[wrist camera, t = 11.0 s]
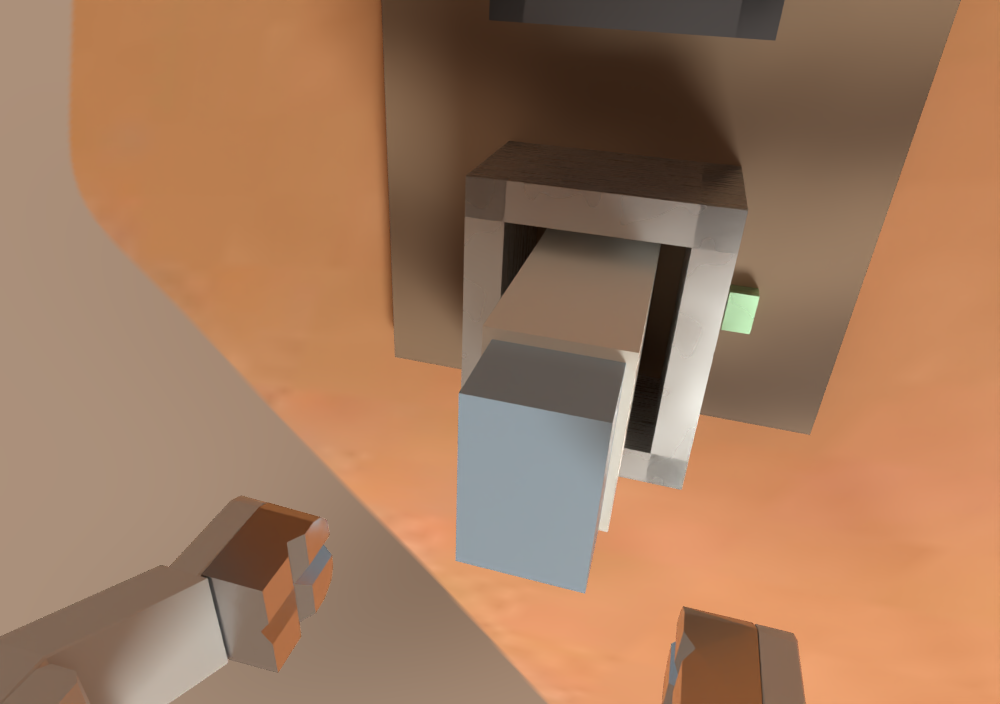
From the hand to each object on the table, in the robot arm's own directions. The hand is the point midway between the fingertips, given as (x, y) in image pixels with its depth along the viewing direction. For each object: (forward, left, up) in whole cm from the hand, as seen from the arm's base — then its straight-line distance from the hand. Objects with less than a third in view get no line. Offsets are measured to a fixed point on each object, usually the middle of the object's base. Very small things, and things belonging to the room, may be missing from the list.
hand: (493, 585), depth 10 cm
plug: (0, 0, -12) cm, 12 cm away
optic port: (0, 0, -12) cm, 12 cm away
